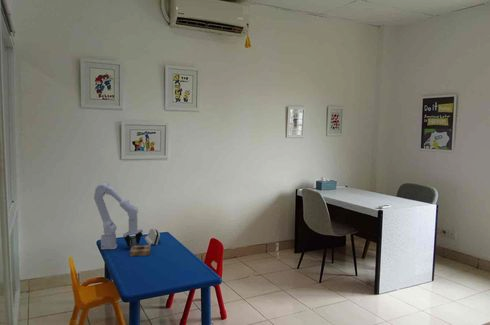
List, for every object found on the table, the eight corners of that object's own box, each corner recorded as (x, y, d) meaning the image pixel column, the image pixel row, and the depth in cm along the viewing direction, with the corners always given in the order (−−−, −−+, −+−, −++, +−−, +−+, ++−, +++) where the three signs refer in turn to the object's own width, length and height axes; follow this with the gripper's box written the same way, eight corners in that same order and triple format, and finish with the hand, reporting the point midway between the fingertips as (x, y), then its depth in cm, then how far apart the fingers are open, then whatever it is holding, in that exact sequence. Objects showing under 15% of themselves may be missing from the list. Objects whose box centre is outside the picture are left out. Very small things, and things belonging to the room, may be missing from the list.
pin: (130, 248, 254) (130, 238, 253) (130, 246, 258) (130, 236, 257) (135, 247, 255) (135, 237, 254) (136, 246, 258) (136, 236, 257)
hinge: (144, 239, 274) (149, 226, 275) (150, 240, 277) (155, 227, 277) (150, 245, 260) (154, 231, 260) (156, 247, 262) (161, 233, 263)
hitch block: (129, 256, 238) (129, 251, 238) (132, 250, 250) (132, 245, 250) (149, 255, 240) (149, 250, 240) (150, 249, 252) (150, 245, 252)
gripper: (127, 228, 246) (128, 248, 248) (145, 224, 258) (145, 243, 259) (121, 226, 250) (121, 246, 252) (138, 222, 262) (138, 241, 264)
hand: (133, 244), depth 256 cm, fingers open, 7 cm apart
